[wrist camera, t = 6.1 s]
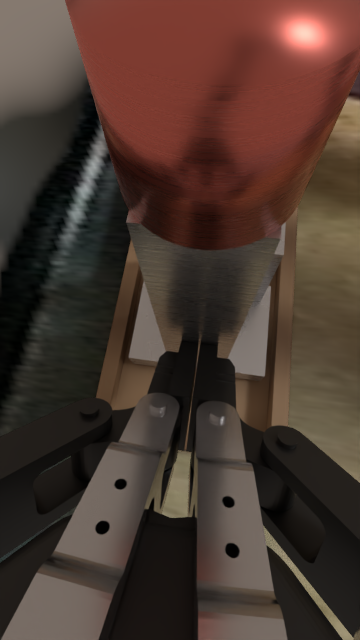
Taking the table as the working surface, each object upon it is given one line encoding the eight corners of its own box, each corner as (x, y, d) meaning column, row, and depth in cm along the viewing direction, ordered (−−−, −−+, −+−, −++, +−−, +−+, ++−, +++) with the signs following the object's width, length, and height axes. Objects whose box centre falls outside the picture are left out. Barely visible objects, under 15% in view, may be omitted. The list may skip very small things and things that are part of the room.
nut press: (275, 463, 19) (306, 472, 14) (99, 435, 20) (66, 434, 15) (293, 131, 27) (318, 56, 21) (166, 120, 27) (159, 46, 22)
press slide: (258, 386, 19) (611, 113, 3) (132, 368, 19) (-138, 58, 3) (266, 281, 21) (500, -213, 5) (151, 268, 21) (36, -215, 6)
